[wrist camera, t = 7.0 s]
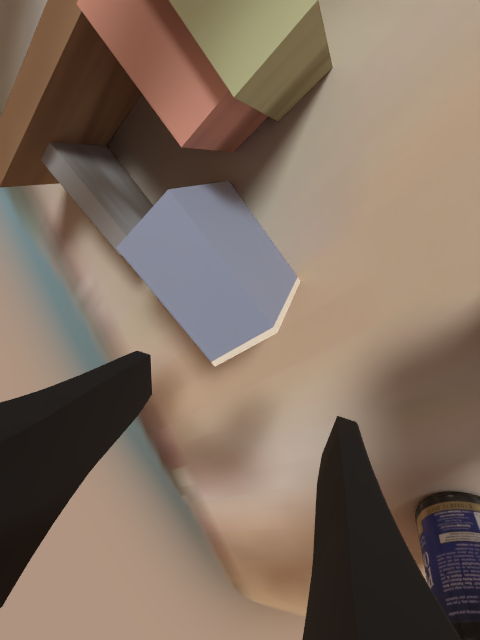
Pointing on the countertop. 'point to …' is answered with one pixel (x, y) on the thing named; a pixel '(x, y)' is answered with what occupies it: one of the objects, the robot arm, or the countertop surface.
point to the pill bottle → (453, 557)
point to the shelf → (150, 88)
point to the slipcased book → (212, 268)
